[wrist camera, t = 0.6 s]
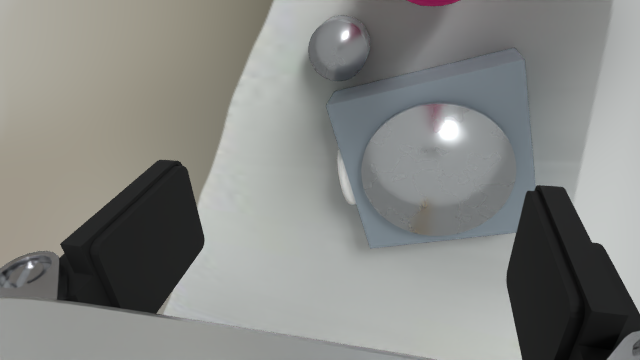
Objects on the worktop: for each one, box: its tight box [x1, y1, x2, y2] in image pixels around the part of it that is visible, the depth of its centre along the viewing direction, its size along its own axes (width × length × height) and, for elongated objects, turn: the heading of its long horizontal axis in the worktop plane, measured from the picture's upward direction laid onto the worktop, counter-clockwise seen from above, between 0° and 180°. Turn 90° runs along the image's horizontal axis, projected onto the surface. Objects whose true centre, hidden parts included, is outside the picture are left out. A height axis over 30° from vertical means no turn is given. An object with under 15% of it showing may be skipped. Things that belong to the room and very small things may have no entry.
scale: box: [326, 48, 536, 248], centre depth 39 cm, size 17×16×6 cm
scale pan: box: [361, 101, 516, 236], centre depth 36 cm, size 13×13×1 cm
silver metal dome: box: [308, 15, 370, 81], centre depth 36 cm, size 5×5×3 cm
